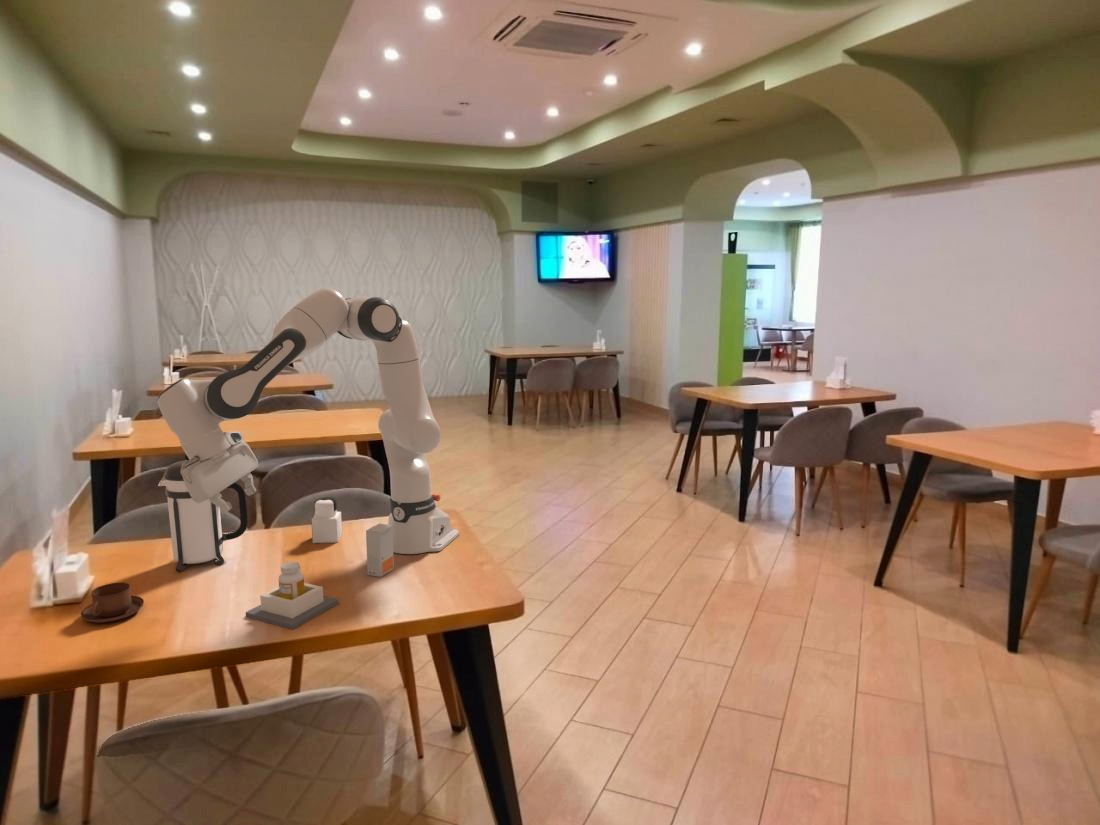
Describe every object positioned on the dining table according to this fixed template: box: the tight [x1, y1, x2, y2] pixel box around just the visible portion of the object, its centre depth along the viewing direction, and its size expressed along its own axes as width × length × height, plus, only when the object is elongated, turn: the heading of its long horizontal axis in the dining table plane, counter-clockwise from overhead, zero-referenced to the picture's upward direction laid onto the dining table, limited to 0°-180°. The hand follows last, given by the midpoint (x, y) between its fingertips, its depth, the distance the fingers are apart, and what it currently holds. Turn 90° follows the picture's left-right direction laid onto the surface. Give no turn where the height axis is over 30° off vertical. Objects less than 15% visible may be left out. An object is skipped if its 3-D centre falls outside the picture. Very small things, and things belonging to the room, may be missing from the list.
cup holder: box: [245, 582, 339, 630], centre depth 161 cm, size 14×14×4 cm
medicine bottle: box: [310, 496, 343, 544], centre depth 206 cm, size 7×7×12 cm
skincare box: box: [365, 523, 395, 578], centre depth 181 cm, size 6×4×12 cm
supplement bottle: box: [278, 561, 305, 600], centre depth 160 cm, size 5×5×10 cm
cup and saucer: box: [80, 582, 145, 624], centre depth 159 cm, size 12×12×6 cm
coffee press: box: [157, 453, 248, 573], centre depth 188 cm, size 17×16×30 cm
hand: (240, 502), depth 161 cm, fingers open, 8 cm apart
